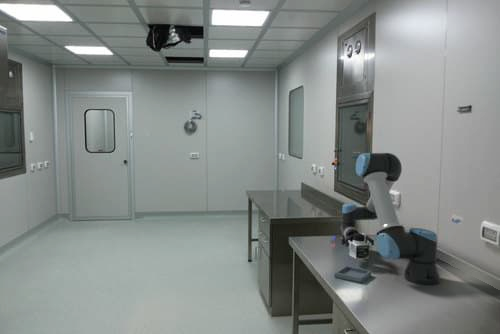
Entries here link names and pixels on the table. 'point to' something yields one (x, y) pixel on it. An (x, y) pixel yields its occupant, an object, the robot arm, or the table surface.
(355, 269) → the tray
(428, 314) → the table surface
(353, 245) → the medicine bottle
